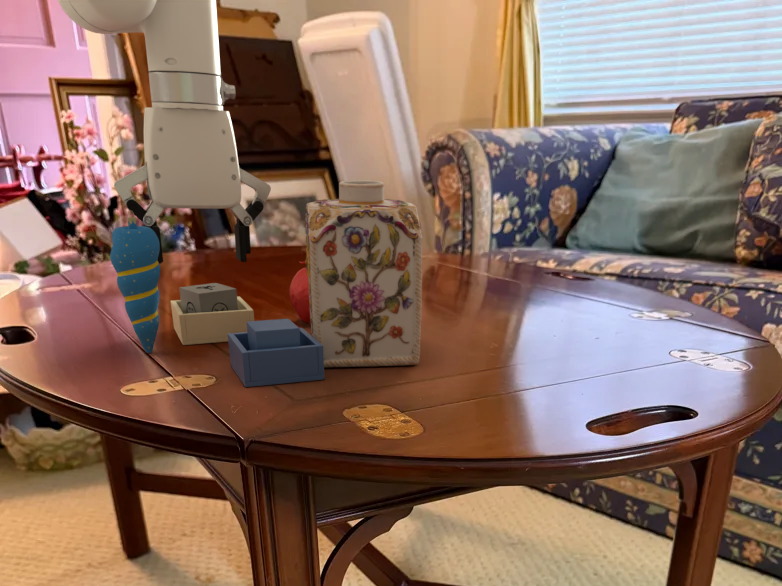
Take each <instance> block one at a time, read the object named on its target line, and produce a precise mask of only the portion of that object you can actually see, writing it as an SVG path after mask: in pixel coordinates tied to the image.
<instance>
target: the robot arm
mask: <svg viewBox="0 0 782 586" xmlns="http://www.w3.org/2000/svg"><path fill="white" fill-rule="evenodd" d="M57 1H58V3H59V6H60V7H61V9H62V11H63V12H64V13H65V15H67V17H68V18H69V19H70V20H71V21H72V22H73V23H75V24H76V25H78V26H79V27H81V28H82V29H83V30H86V31H88V32H91V33H93V34H94V33H95V34H100V35H113V34H130V33H132V34H133V33H143V34H144V43H145V50H146V51H145V53H146V61H147V71H148V80H149V91H150V101H151V107H150V106H149V107H148V106H147V107H144V114H143V150H144V151H143V153H144V154H143V155H144V165H142V166H140V167H139V168H137V169H135V170H134V171H131V172H130V173H127V174H126V175H124V176H122V177H121V178H119V179H117V180H115V182H114V183H113V187H114V189H115V191H116V192H117V194H118V195H119V197H120V199H121V200H122V202H123V203H124V205H125V207H126V208H127V209H128V211H130V210H131V211H130V212H131V214H133V213H134V214H133V216H134V217H136V219H138V220H139V221H141V222H142V223H143V224H144V227H149V228H151V229H152V230H153V231H154V232H155V233H156V235H157V237H158V239H159V243H160V250H159V256H158V259H157V261H158V263H159V265H160V264H162V263H164V257H163V254H164V253H163V246H162V238H161V228H160V226H159V225H158V222H157V220H158V218H159V217H160V216H161V214H162V213H163V212H164V210H165V208H166V209H194V210H195V209H199V210H201V209H205V210H206V209H208V210H210V209H212V210H214V209H215V210H218V209H223V210H224V209H228V211H229V212H230V213H231V214H232V215H233V216H234V218H235V219H236V221H235V222H236V223H235V224H234V225H233V229H234V245H235V246H234V247H235V257H236V259H237V260H238V261H239V262H241V263H247V262H248V256H247V255H250V254H251V252H252V246H251V233H250V232H251V230H250V229H251V228H250V226H252V225H253V222H254V221H255V220H256V219H257V217H258V216H259V215H260V214H261V213H262V212H263V210H264V206H265V204H266V203H267V200H268V199H269V196H270V193H271V190H272V187H271V185H270V184H268V183H267V182H265V181H263V180H262V179H260V178H258V177H256V176H255V175H254V174H251V173H249V172H248V171H246V170H244V169H242V168H241V167H240V165H239V157H238V150H237V149H238V148H237V142H236V136H235V131H234V126H233V122H232V119H231V114H230V111H229V110H224V106H223V105H225V102H226V101H229V100H236V94H237V93H236V86H235V85H233V84H228V83H226V82H225V81H224V80H223V77H222V72H221V58H220V56H221V55H220V42H219V39H220V38H219V25H218V24H219V23H218V10H217V0H57ZM144 182H146V189H147V194H148V199H149V200H151V201H150V202H149V203H148V205H147V207H146V208H144V207H143V206H142V205H141V204H139V203H138V201H137V200H136V199H135V197H134V195H133V194H132V189H133V188H134V187H136V186H138V185H139V184H142V183H144ZM242 184H244V185H246V186H247V187H249V188H251V189H253V190H254V192H255V193H254V196H253V199H252V201H251V202H250V203H249V204H248V205H247V206H246V208H244V207H243V205H242V204H241V201H242ZM132 211H133V212H132Z"/></svg>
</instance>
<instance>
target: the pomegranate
mask: <svg viewBox="0 0 782 586" xmlns="http://www.w3.org/2000/svg"><path fill="white" fill-rule="evenodd" d="M305 261H306V260H304V261H299V264H301V265H306V262H305ZM289 300H290V303H291V305H292V307H293V309H294V311H295V312H296V314H297V316H298V318H299V320H301V321H303V322H304V323H306V325H309V326H311V319H310V304H309V283H308V275H307V270H306V266H305V267H303V268H301V269H299V270H298V271H297V272H296V274H295V275H294V276H293V278H292V280H291V282H290V285H289Z"/></svg>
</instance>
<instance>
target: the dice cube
mask: <svg viewBox="0 0 782 586" xmlns="http://www.w3.org/2000/svg"><path fill="white" fill-rule="evenodd" d="M178 290H179V298H180V299H179V300H181V307H182V312H183V314H187V313H202V312H217V311H232V310H238V302H237V297H238V292H237V288H235V287H231V286H229V285H225V284H221V283H218V282H210V283H203V284H202V283H201V284H195V285H188V286H187V285H186V286H180V287H178Z"/></svg>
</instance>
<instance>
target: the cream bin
mask: <svg viewBox="0 0 782 586" xmlns="http://www.w3.org/2000/svg"><path fill="white" fill-rule="evenodd" d="M237 302H238V310H232V311H217V312H202V313H187V314H183V312H182V307H181V299H175V300H170V309H171V316H172V323H173V329H174V331H175V333H176V335H177V337H178V339H179V340H180V342H181V344H182V346H188V345H189V346H190V345H201V344H215V343H226V342H227V343H228V333H241V332H247V322H249V321H255V312H254V309H253V308H252V307H251V306H250V305H249V304H248V303H247V302H246V301H245V300H244V299H243V298H242V297H241V296H238V295H237Z"/></svg>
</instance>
